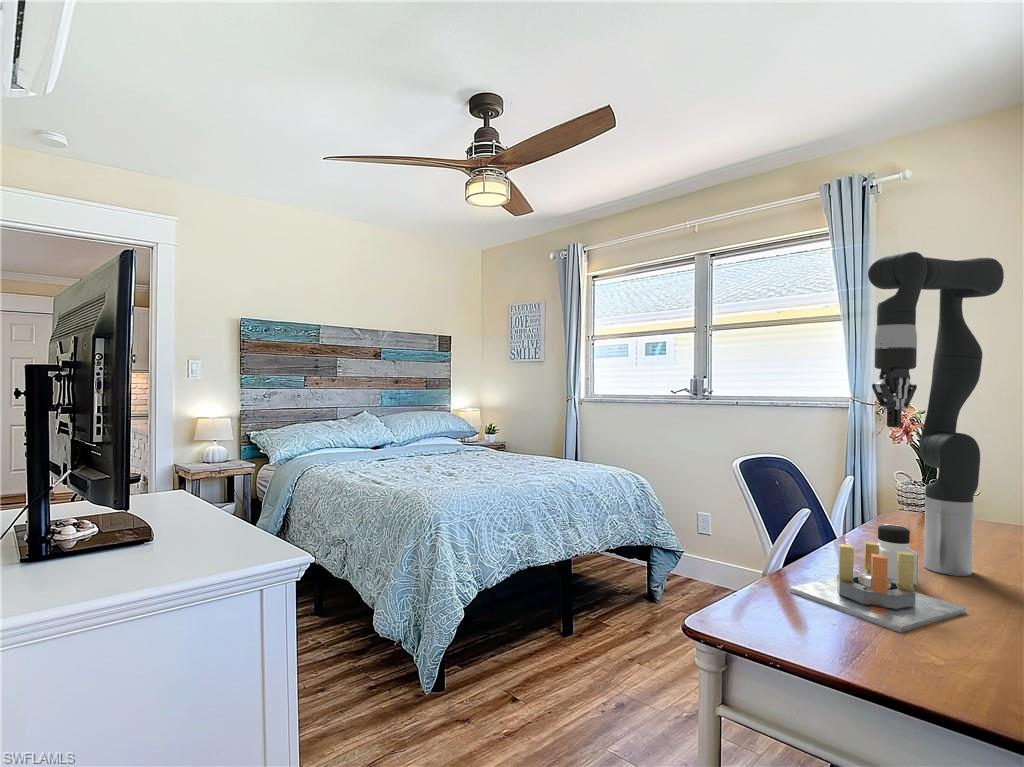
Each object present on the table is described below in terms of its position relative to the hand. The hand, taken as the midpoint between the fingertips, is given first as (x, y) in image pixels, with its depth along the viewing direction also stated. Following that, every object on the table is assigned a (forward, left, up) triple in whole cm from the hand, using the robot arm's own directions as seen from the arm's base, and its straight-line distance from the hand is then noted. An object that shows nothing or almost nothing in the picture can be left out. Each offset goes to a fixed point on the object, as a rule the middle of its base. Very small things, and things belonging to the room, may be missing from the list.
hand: (893, 427), depth 124 cm
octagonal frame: (+11, +3, -34) cm, 36 cm away
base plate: (+11, +3, -35) cm, 37 cm away
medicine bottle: (-8, -4, -35) cm, 36 cm away
